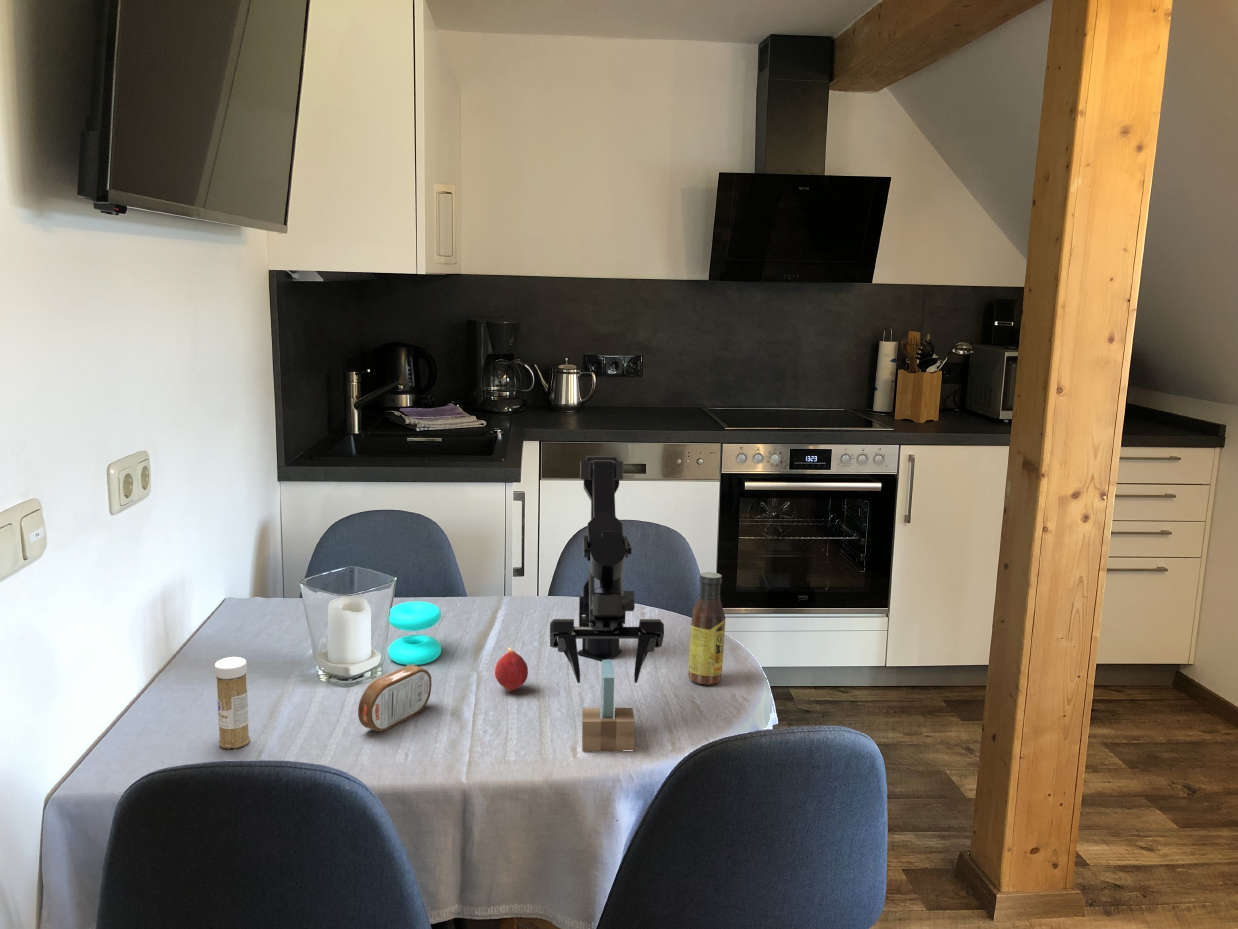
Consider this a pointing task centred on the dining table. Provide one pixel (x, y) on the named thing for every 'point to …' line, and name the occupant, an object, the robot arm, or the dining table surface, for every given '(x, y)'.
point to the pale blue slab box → (607, 690)
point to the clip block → (607, 730)
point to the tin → (394, 698)
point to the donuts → (414, 646)
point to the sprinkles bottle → (232, 702)
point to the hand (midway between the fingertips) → (607, 682)
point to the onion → (511, 671)
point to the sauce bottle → (707, 632)
